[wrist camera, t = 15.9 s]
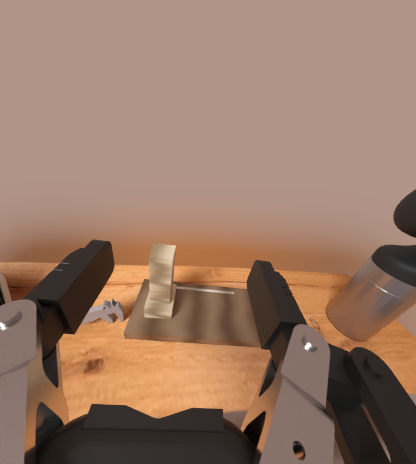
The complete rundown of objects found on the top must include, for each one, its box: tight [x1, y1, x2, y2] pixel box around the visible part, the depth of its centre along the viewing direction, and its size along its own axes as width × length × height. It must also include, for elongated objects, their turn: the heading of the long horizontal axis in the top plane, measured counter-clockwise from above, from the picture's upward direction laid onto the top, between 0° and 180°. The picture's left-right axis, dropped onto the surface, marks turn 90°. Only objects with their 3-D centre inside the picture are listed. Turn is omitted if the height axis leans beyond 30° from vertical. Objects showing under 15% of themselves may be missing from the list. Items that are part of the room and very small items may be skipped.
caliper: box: [81, 298, 124, 324], centre depth 29 cm, size 20×1×6 cm, turn 107°
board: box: [124, 279, 261, 347], centre depth 37 cm, size 26×12×2 cm, turn 91°
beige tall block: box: [144, 243, 177, 319], centre depth 32 cm, size 5×7×14 cm
